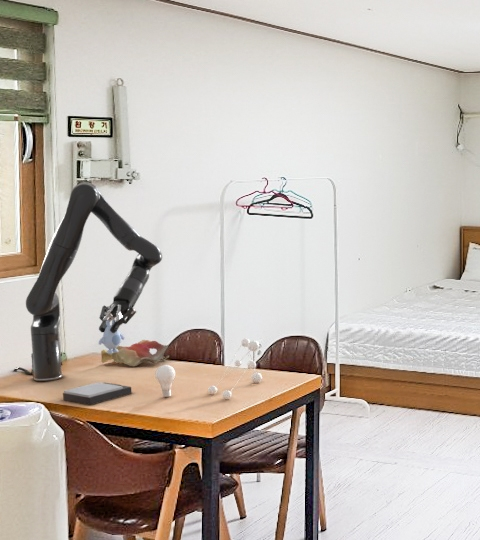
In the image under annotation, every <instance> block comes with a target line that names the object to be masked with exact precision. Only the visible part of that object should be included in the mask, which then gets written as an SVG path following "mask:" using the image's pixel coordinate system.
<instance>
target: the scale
mask: <svg viewBox="0 0 480 540" xmlns="http://www.w3.org/2000/svg"><path fill="white" fill-rule="evenodd" d="M132 393H133V392H132V386H128V385H122V384H117V383H112V382H111V383H109V382H99V381H97V382H94V383H93V382H92V383H89V384H85V385H82V386H77V387H73V388H69V389H65V390H63V393H62V399H63V401H66V402H72V403H78V404H83V405H88V406H92V405H95V404H100V403H103V402H106V401H109V400H113V399H114V400H115V399H119V398H121V397H125V396H128V395H132Z"/></svg>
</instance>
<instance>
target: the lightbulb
mask: <svg viewBox="0 0 480 540" xmlns="http://www.w3.org/2000/svg"><path fill="white" fill-rule="evenodd" d="M154 374H155V379H156V381H157V382H158V384H159V385H160V388H161V392H162V394H161V395H162V397H163V398H169V397H171V396H172V391H171V390H172V384H173V382H174V381H175V378H176V374H177V373H176V370H175V368H174V367H173V366H171V365H169V364H163V365H160V366H158V368H157V369H156V371H155V373H154Z"/></svg>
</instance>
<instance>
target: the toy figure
mask: <svg viewBox="0 0 480 540" xmlns="http://www.w3.org/2000/svg"><path fill="white" fill-rule="evenodd" d="M114 322H116V318H115V319H113V320H111V322H109V320H108V319H107V321H106V325H107V327H106V329H105V331H104V332H103V335H102V337H101V338H100V339H99V340H98V345H99V346H100V345H102V344H103V346H104V347H105V348H106V349H108V350H106V351H107V353H108V354H112V353H113V352H114V353H116V352H118V350H117V349H116V348H117V347H118V346H120V344H121V343H122V341H124V340H125V339H126V338H125V337H126V336H125V335H124V334H122V333H121V332H120V331H119V329H118V330H117V331H116V332H115V333H112V332H111V331H110V329H111V327H112V325H113V323H114Z"/></svg>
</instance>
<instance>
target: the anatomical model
mask: <svg viewBox="0 0 480 540" xmlns="http://www.w3.org/2000/svg"><path fill="white" fill-rule="evenodd" d="M168 348H169V344H161V343H159V342H158V341H156V340H149V339H141V340H140V341H138V342H137V343H132V344H131V345H130V346H121V345H119V346H118V347H117V348H116V349H117V350H118V352H116V353H114V352H113V353H112V354H108V353H107V351H108V350H106V349H102V350H101V351H100V353H101V363H102V364H104V363H106V362H108V361H111V360H113V362H115V363H116V364H117V363H118V364H124V365H127V366H129V367H137V366H139V365H140V364H142V363H143V362H150V363H153V364H157V363H158V362H159V361H160V362H164V361H166V359H169V357H170V355H166V356H164V354H165V352H166V351H167V349H168ZM153 349H154V350H156V352H155V353H152V352H150V351H151V350H153Z"/></svg>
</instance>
